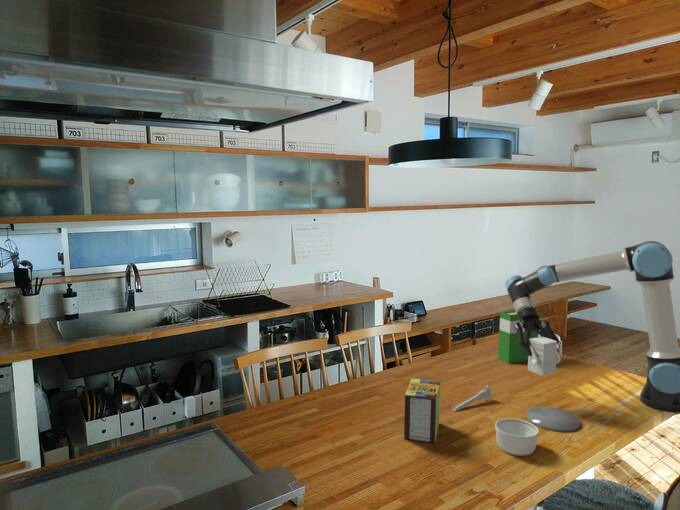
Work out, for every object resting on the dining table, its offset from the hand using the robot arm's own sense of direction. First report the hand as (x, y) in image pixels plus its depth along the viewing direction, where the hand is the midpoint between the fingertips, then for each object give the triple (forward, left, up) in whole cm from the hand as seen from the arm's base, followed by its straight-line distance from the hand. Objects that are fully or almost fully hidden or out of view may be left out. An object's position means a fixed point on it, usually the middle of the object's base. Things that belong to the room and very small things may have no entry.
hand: (547, 362), depth 183 cm
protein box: (+28, +45, -19) cm, 56 cm away
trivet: (-5, +8, -18) cm, 20 cm away
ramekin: (-1, +36, -19) cm, 40 cm away
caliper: (+23, +14, -19) cm, 33 cm away
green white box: (+27, -52, -19) cm, 62 cm away
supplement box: (+3, -2, -5) cm, 6 cm away
